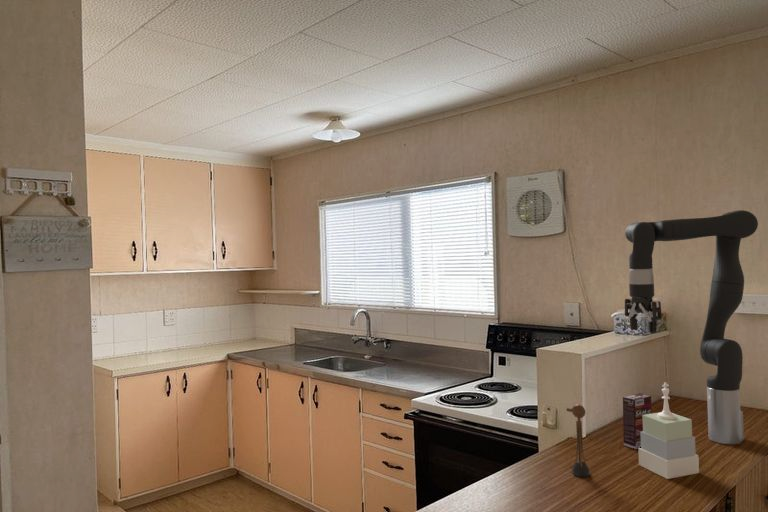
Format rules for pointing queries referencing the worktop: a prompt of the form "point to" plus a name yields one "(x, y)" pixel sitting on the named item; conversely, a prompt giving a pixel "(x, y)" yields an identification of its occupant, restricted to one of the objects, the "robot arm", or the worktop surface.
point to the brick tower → (668, 446)
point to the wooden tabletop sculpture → (579, 443)
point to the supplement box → (634, 418)
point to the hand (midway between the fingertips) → (643, 331)
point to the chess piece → (666, 406)
